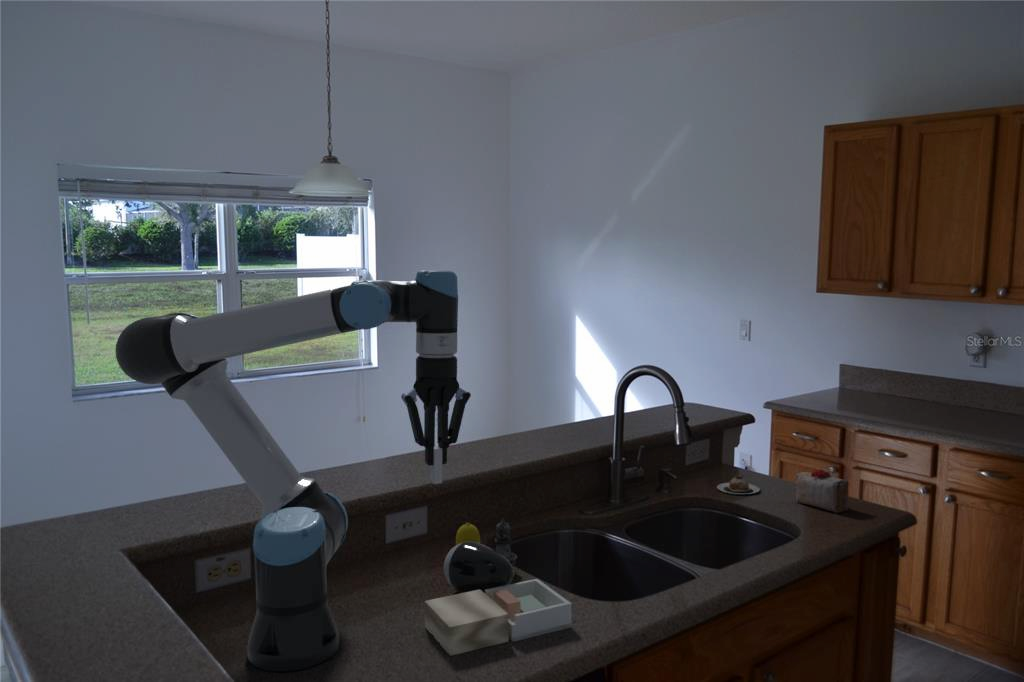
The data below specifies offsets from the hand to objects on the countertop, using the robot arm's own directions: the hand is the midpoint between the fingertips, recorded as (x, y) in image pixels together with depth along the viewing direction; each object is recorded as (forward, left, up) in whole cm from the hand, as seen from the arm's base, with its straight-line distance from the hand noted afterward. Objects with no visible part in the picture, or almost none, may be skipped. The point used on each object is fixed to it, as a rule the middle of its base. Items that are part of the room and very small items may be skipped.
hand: (435, 481), depth 147 cm
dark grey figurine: (+20, +13, -26) cm, 35 cm away
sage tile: (+14, -10, -22) cm, 28 cm away
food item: (+117, +15, -26) cm, 120 cm away
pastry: (+108, +37, -27) cm, 117 cm away
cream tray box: (+2, -10, -26) cm, 28 cm away
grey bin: (+14, -10, -26) cm, 31 cm away
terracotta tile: (+8, -9, -23) cm, 26 cm away
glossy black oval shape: (+8, +11, -21) cm, 25 cm away
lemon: (+17, +25, -26) cm, 40 cm away
